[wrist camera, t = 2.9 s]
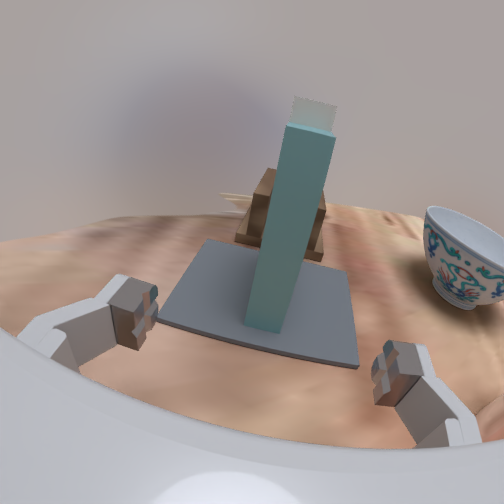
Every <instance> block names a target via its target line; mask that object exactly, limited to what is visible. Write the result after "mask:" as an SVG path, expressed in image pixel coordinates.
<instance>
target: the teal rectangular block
mask: <svg viewBox="0 0 504 504" xmlns="http://www.w3.org/2000/svg"><path fill="white" fill-rule="evenodd" d="M336 109H337V106H333V105H329V104H325V103H321V102H317V101H313V100H309V99H304V98H300V97H294V101H293V106H292V111H291V116H290V121H289V123H288V124H287V125H286V128H285V133H284V138H283V143H282V148H281V152H280V157H279V162H278V167H277V171H276V176H275V181H274V186H273V190H272V195H271V200H270V205H269V209H268V214H267V219H266V224H265V228H264V233H263V238H262V242H261V247H260V252H259V256H258V261H257V266H256V270H255V275H254V280H253V284H252V289H251V294H250V298H249V303H248V307H247V312H246V317H245V321H244V326H248V327H252V328H256V329H260V330H264V331H268V332H273V333H277V334H280V331H281V328H282V325H283V322H284V319H285V316H286V313H287V310H288V307H289V303H290V300H291V297H292V294H293V291H294V288H295V284H296V281H297V278H298V275H299V271H300V268H301V265H302V261H303V258H304V255H305V251H306V248H307V245H308V241H309V238H310V234H311V231H312V227H313V224H314V220H315V217H316V213H317V209H318V206H319V202H320V198H321V195H322V191H323V187H324V183H325V179H326V175H327V172H328V168H329V164H330V160H331V156H332V152H333V148H334V144H335V140H336V137H335V136H334V135H333V134H332V132H331V131H332V126H333V122H334V118H335V113H336Z"/></svg>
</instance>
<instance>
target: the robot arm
mask: <svg viewBox="0 0 504 504" xmlns="http://www.w3.org/2000/svg"><path fill="white" fill-rule="evenodd" d="M157 296H158V288H157V286H156V285H153V284H150V283H147V282H144V281H141V280H138V279H135V278H132V277H128V276H125V275H122V274H117V275H115V276H114V277H113V278H112V279H111V280H110V282H109V283H108V284H107V285H106V286H105V287H104V288H103V289H102V290H101V291H100V292H99V293H98V294H97V296H96V297H95V298H94V299H93V298H88V299H85V300H82V301H79V302H76V303H73V304H70V305H67V306H64V307H62V308H59V309H56V310H53V311H50V312H47V313H44V314H41V315H38V316H36V317H35V318H34V319H33V320H32V321H31V322H30V323H29V324H28V325H27V326H26V327H25V328H24V329H23V331H22V332H21V333H20V334H19V335H18V336H17V337H14V336H13V335H11V334H9V333H8V332H6V331H5V330H3V329H2V328H1V327H0V504H504V439H501V440H495V441H490V442H483V443H482V439H481V435H480V431H479V428H478V424H477V420H476V417H475V416H474V415H473V414H472V412H471V411H470V410H469V409H468V408H467V407H466V406H465V405H464V404H463V403H462V401H461V400H460V399H459V398H458V397H457V396H456V395H455V394H454V393H453V392H452V391H451V390H450V389H449V388H448V386H447V385H446V384H445V383H444V382H443V381H442V380H441V379H440V378H436V375H435V372H434V368H433V365H432V362H431V359H430V356H429V353H428V350H427V347H426V346H425V345H424V344H416V343H407V342H401V341H394V340H388V341H387V342H386V343H385V345H384V346H383V351H384V352H383V353H381V354H380V355H378V356H377V357H376V359H375V361H374V362H373V366H372V370H371V378H372V381H373V382H374V384H375V385H376V387H375V388H374V389H373V395H374V404H375V405H379V406H388V407H395V410H396V412H397V413H398V415H399V416H400V418H401V420H402V421H403V423H404V424H405V426H406V427H407V429H408V431H409V432H410V434H411V436H412V437H413V439H414V440H415V442H416V444H417V445H416V446H415V447H414V448H412V449H372V448H352V447H339V446H328V445H319V444H311V443H303V442H296V441H290V440H283V439H278V438H272V437H267V436H262V435H257V434H252V433H247V432H243V431H238V430H234V429H230V428H226V427H222V426H218V425H214V424H211V423H207V422H204V421H200V420H197V419H193V418H190V417H187V416H183V415H180V414H177V413H174V412H171V411H168V410H165V409H162V408H160V407H157V406H154V405H151V404H148V403H146V402H143V401H141V400H138V399H135V398H133V397H130V396H128V395H125V394H123V393H121V392H118V391H116V390H114V389H111V388H109V387H107V386H104V385H102V384H100V383H98V382H96V381H93V380H91V379H89V378H87V377H85V376H83V375H81V373H80V371H79V368H78V367H79V366H81V365H83V364H84V363H86V362H88V361H90V360H92V359H93V358H95V357H97V356H99V355H100V354H102V353H104V352H106V351H107V350H109V349H111V348H113V347H114V346H116V345H117V344H119V345H122V346H125V347H128V348H130V349H133V350H136V351H139V349H140V348H141V346H142V344H143V343H144V341H145V340H146V332H147V331H150V330H152V328H153V326H154V325H155V322H156V319H157V316H158V304H157V302H156V301H155V299H156V297H157Z"/></svg>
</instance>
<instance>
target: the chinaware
mask: <svg viewBox="0 0 504 504" xmlns="http://www.w3.org/2000/svg"><path fill="white" fill-rule="evenodd" d="M423 240H424V250H425V255H426V259H427V262H428V265H429V267H430V269H431V272H432V274H433V275H434V278H433V281H432V283H433V286H434V288H435V290H436V291H437V292H438V293H439V295H440V296H441V297H443V298H444V299H445V300H446V301H448V302H449V303H450V304H452V305H454V306H456V307H458V308H461V309H464V310H472V309H474V308H475V307H476V305H488V304H493V303H496V302H499V301H502V300H504V238H503V237H501V236H500V235H499V234H497V233H496V232H494V231H493V230H491V229H490V228H488V227H486V226H484V225H483V224H481V223H479V222H478V221H476V220H474V219H472V218H470V217H468V216H465V215H463V214H461V213H458V212H456V211H453V210H450V209H447V208H443V207H439V206H430V207H428V208H427V211H426V215H425V222H424V233H423Z"/></svg>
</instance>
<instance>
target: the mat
mask: <svg viewBox="0 0 504 504" xmlns="http://www.w3.org/2000/svg"><path fill="white" fill-rule="evenodd" d="M259 252H260V251H257V250H253V249H249V248H245V247H240V246H236V245H232V244H228V243H224V242H219V241H215V240H211V239H207V240H206V242H205V243H204V245H203V246H202V248H201V249H200V251H199V252H198V253H197V255H196V256H195V258H194V259H193V261H192V262H191V264H190V265H189V267H188V268H187V270H186V271H185V273H184V274H183V276H182V278H181V279H180V281H179V282H178V284H177V285H176V287H175V288H174V290H173V291H172V293H171V294H170V296H169V297H168V299H167V301H166V302H165V304H164V305H163V307H162V308H161V310H160V311H159V313H158V316H157V319H156V321H157V322H160V323H163V324H167V325H170V326H173V327H176V328H180V329H183V330H186V331H190V332H193V333H196V334H200V335H204V336H207V337H211V338H214V339H218V340H222V341H226V342H229V343H233V344H237V345H241V346H245V347H249V348H253V349H257V350H262V351H266V352H270V353H275V354H279V355H284V356H289V357H293V358H298V359H303V360H308V361H313V362H319V363H324V364H329V365H335V366H341V367H347V368H353V369H358V367H359V356H358V348H357V339H356V332H355V324H354V317H353V310H352V303H351V297H350V290H349V284H348V278H347V273H346V272H345V271H341V270H337V269H332V268H328V267H324V266H320V265H316V264H312V263H307V262H303V261H302V265H301V268H300V271H299V275H298V278H297V281H296V284H295V288H294V291H293V294H292V297H291V300H290V303H289V307H288V310H287V313H286V316H285V319H284V322H283V325H282V328H281V331H280V334H277V333H273V332H268V331H264V330H260V329H256V328H252V327H248V326H244V321H245V317H246V312H247V307H248V303H249V298H250V294H251V289H252V284H253V280H254V275H255V270H256V266H257V261H258V256H259Z"/></svg>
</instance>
